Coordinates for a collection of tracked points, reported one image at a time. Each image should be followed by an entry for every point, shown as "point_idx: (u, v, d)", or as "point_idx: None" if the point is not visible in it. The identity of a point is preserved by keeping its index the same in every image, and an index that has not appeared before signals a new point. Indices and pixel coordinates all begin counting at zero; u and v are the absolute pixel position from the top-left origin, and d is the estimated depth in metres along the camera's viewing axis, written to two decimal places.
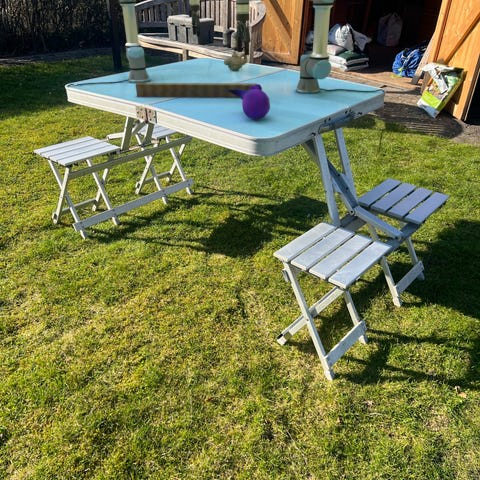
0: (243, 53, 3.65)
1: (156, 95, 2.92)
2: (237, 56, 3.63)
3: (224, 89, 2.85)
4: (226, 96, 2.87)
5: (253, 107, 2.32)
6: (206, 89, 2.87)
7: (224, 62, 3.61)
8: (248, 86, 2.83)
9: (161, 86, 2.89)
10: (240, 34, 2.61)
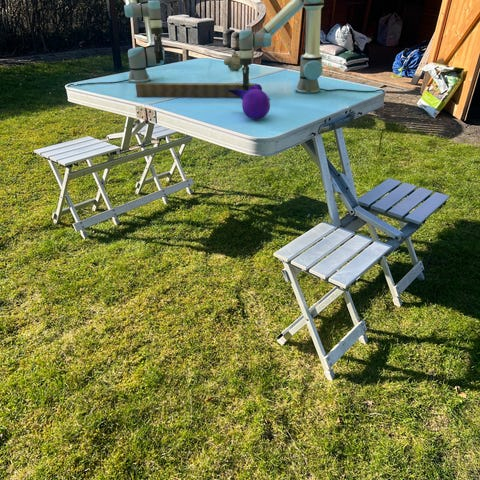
0: None
1: (156, 95, 2.92)
2: (237, 56, 3.63)
3: (224, 89, 2.85)
4: (226, 96, 2.87)
5: (253, 107, 2.32)
6: (206, 89, 2.87)
7: (224, 62, 3.61)
8: (248, 86, 2.83)
9: (161, 86, 2.89)
10: None
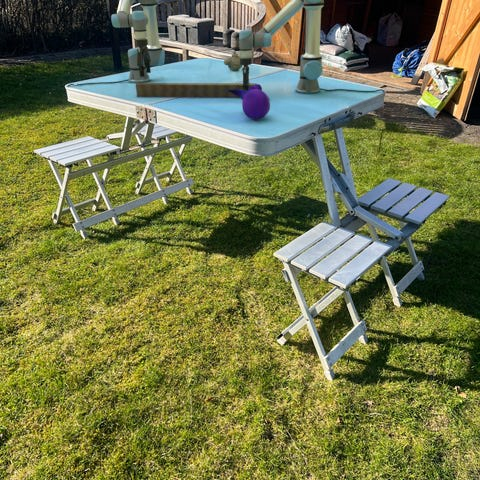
0: None
1: (156, 95, 2.92)
2: (237, 56, 3.63)
3: (224, 89, 2.85)
4: (226, 96, 2.87)
5: (253, 107, 2.32)
6: (206, 89, 2.87)
7: (224, 62, 3.61)
8: (248, 86, 2.83)
9: (161, 86, 2.89)
10: None
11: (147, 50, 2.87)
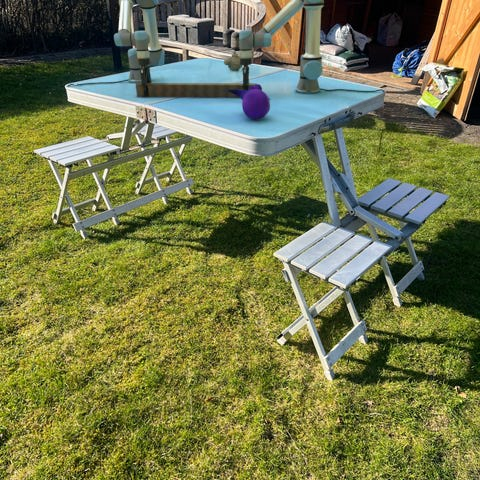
0: None
1: (156, 95, 2.92)
2: (237, 56, 3.63)
3: (224, 89, 2.85)
4: (226, 96, 2.87)
5: (253, 107, 2.32)
6: (206, 89, 2.87)
7: (224, 62, 3.61)
8: (248, 86, 2.83)
9: (161, 86, 2.89)
10: None
11: (149, 70, 2.92)
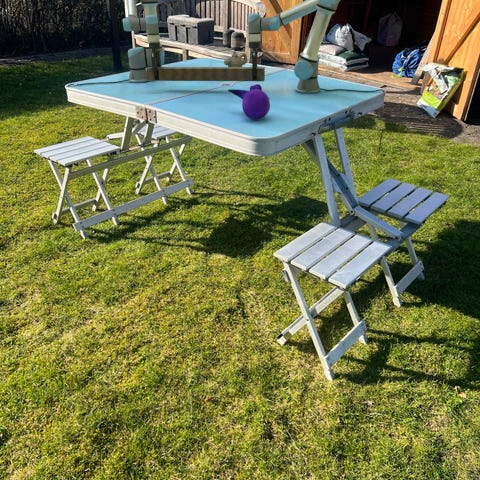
0: (243, 53, 3.65)
1: (166, 79, 2.98)
2: (237, 56, 3.63)
3: (233, 73, 2.91)
4: (235, 80, 2.93)
5: (253, 107, 2.32)
6: (215, 72, 2.92)
7: (224, 62, 3.61)
8: (256, 69, 2.88)
9: (171, 70, 2.95)
10: None
11: (159, 54, 2.98)
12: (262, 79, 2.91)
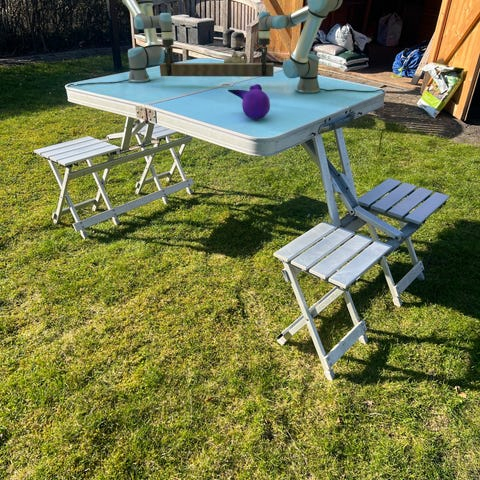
0: (243, 53, 3.65)
1: (179, 74, 3.10)
2: (237, 56, 3.63)
3: (243, 68, 3.03)
4: (245, 75, 3.05)
5: (253, 107, 2.32)
6: (226, 68, 3.04)
7: (224, 62, 3.61)
8: (266, 65, 3.00)
9: (184, 66, 3.07)
10: None
11: (172, 51, 3.10)
12: (271, 74, 3.03)
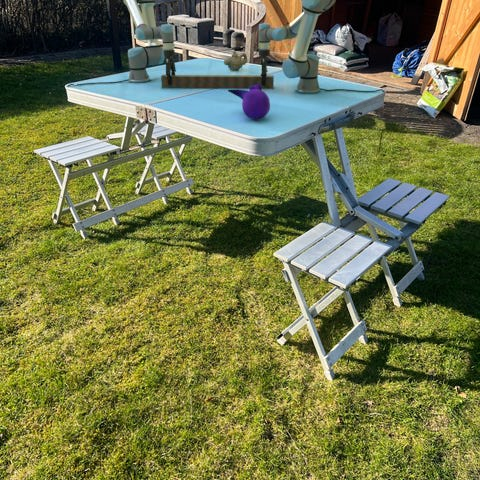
0: (243, 53, 3.65)
1: (180, 86, 3.14)
2: (237, 56, 3.63)
3: (244, 81, 3.07)
4: (245, 87, 3.09)
5: (253, 107, 2.32)
6: (226, 80, 3.08)
7: (224, 62, 3.61)
8: (266, 78, 3.04)
9: (185, 78, 3.11)
10: None
11: (173, 60, 3.14)
12: (271, 87, 3.07)
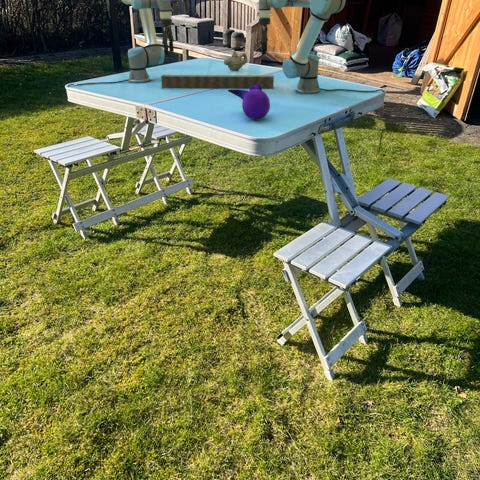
0: (243, 53, 3.65)
1: (180, 86, 3.14)
2: (237, 56, 3.63)
3: (244, 81, 3.07)
4: (245, 87, 3.09)
5: (253, 107, 2.32)
6: (226, 80, 3.08)
7: (224, 62, 3.61)
8: (266, 78, 3.04)
9: (185, 78, 3.11)
10: None
11: (171, 30, 3.04)
12: (271, 87, 3.07)
